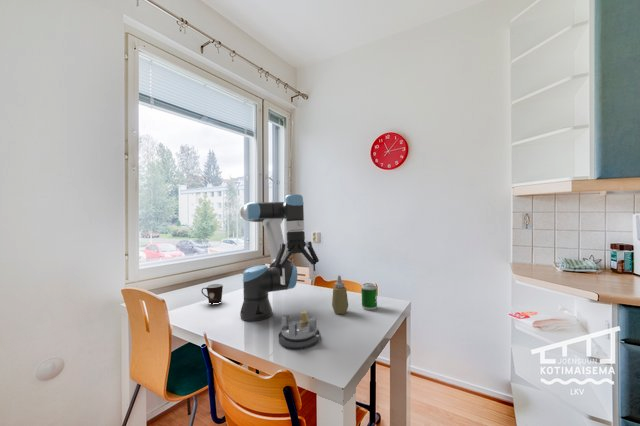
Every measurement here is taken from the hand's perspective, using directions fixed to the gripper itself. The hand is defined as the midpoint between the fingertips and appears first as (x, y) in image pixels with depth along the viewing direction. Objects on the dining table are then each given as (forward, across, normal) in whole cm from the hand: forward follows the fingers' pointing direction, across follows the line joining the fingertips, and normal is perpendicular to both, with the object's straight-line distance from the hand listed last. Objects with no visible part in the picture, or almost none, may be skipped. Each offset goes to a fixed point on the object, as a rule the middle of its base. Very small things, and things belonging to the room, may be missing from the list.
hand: (297, 281), depth 109 cm
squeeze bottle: (+20, +26, +7) cm, 33 cm away
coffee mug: (+18, -23, +61) cm, 68 cm away
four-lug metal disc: (+18, -3, -6) cm, 20 cm away
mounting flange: (+21, -3, -6) cm, 22 cm away
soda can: (+20, +41, +2) cm, 46 cm away
